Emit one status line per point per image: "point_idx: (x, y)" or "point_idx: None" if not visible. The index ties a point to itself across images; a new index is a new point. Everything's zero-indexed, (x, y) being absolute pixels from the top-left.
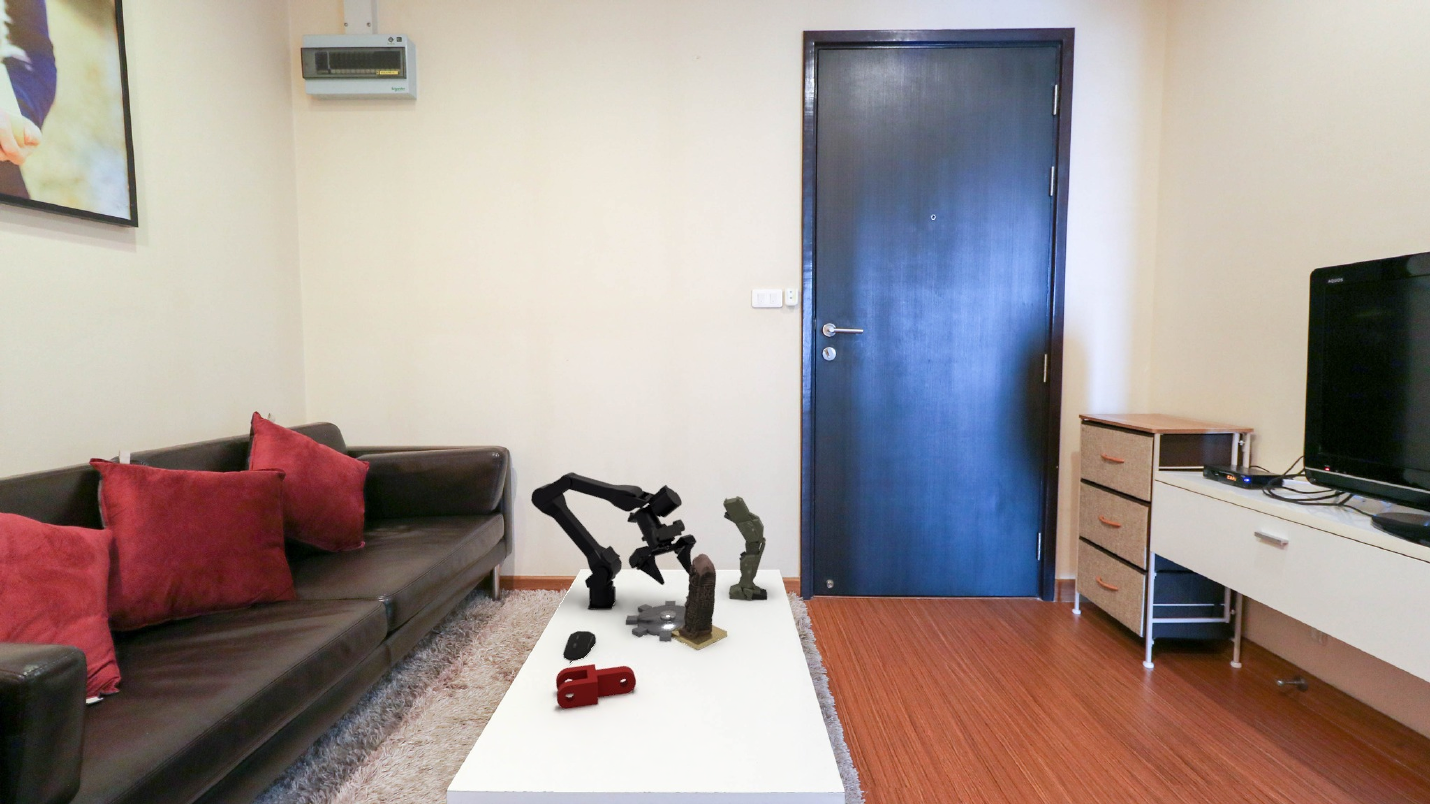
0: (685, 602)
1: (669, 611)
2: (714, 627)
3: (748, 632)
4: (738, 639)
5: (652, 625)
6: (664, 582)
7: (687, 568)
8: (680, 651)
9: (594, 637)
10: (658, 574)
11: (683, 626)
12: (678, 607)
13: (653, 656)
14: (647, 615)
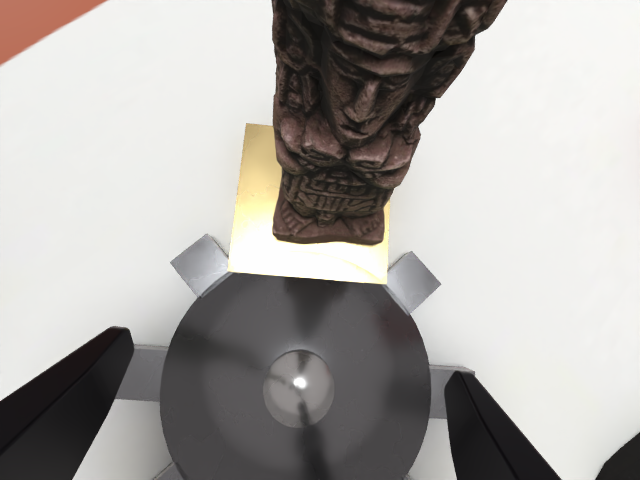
0: (399, 177)
1: (275, 403)
2: (248, 176)
3: (179, 94)
4: (243, 91)
5: (395, 379)
6: (459, 372)
7: (82, 414)
8: (430, 183)
9: (633, 476)
10: (542, 465)
11: (376, 218)
12: (186, 428)
13: (512, 227)
14: (342, 476)
